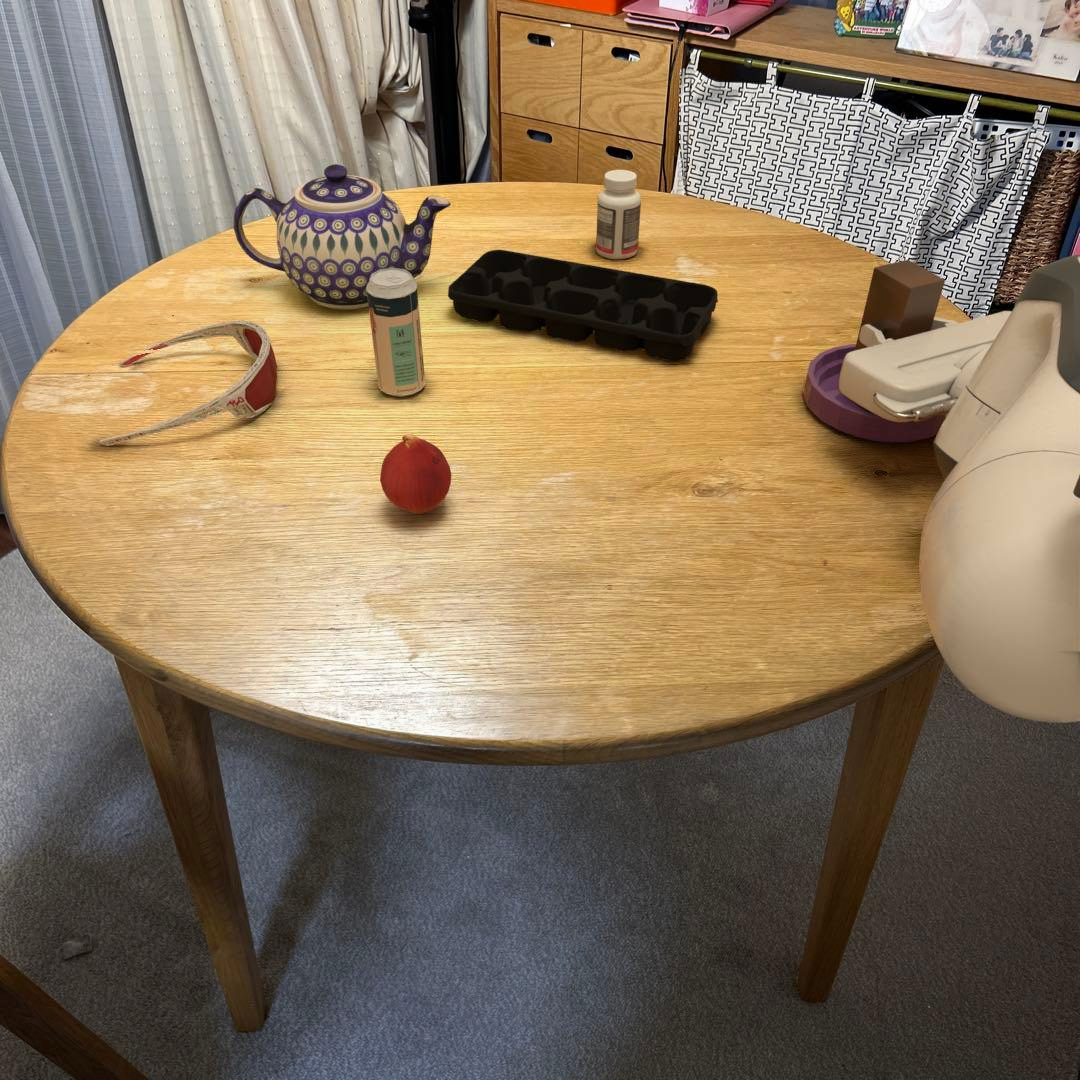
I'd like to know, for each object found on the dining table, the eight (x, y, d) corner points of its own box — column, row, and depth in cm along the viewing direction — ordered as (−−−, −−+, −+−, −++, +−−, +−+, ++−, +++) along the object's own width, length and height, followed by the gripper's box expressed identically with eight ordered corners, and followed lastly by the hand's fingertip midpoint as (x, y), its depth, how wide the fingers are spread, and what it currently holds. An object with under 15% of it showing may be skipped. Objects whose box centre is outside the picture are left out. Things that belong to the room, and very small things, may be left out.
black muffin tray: (710, 369, 101) (714, 337, 98) (433, 343, 105) (431, 312, 102) (717, 295, 114) (721, 265, 111) (471, 274, 118) (470, 245, 116)
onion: (424, 482, 86) (417, 406, 80) (467, 511, 83) (462, 433, 77) (372, 511, 83) (361, 433, 77) (414, 542, 79) (405, 463, 74)
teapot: (228, 316, 110) (198, 186, 100) (267, 260, 121) (244, 139, 111) (445, 324, 108) (436, 194, 99) (464, 267, 120) (457, 145, 110)
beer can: (400, 370, 101) (389, 261, 93) (435, 384, 98) (426, 274, 91) (368, 390, 98) (354, 279, 90) (403, 405, 95) (392, 292, 88)
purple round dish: (951, 382, 99) (959, 356, 97) (949, 458, 89) (959, 431, 87) (811, 359, 102) (816, 334, 100) (794, 430, 92) (799, 404, 90)
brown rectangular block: (917, 408, 93) (954, 283, 85) (881, 419, 92) (915, 292, 83) (872, 377, 98) (903, 255, 89) (837, 387, 96) (866, 264, 88)
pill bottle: (634, 242, 125) (639, 166, 119) (640, 260, 121) (646, 182, 115) (593, 243, 125) (596, 167, 119) (597, 261, 121) (601, 183, 115)
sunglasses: (287, 429, 92) (268, 385, 88) (113, 476, 91) (87, 433, 88) (285, 342, 104) (269, 301, 101) (133, 382, 104) (111, 342, 100)
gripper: (894, 456, 80) (793, 378, 89) (1073, 400, 86) (960, 333, 96) (914, 390, 76) (805, 316, 85) (1099, 336, 82) (979, 273, 92)
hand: (889, 324), depth 91 cm, fingers closed on brown rectangular block, 4 cm apart
